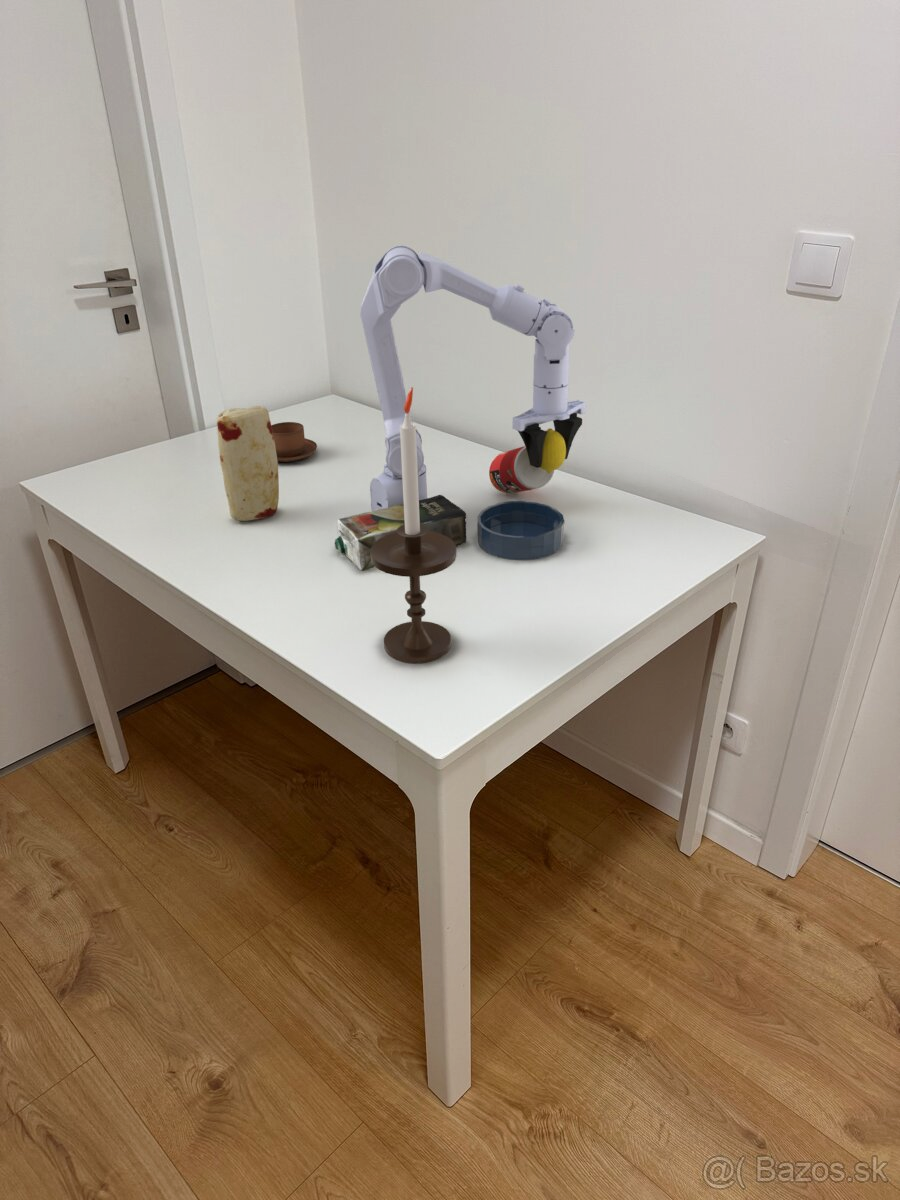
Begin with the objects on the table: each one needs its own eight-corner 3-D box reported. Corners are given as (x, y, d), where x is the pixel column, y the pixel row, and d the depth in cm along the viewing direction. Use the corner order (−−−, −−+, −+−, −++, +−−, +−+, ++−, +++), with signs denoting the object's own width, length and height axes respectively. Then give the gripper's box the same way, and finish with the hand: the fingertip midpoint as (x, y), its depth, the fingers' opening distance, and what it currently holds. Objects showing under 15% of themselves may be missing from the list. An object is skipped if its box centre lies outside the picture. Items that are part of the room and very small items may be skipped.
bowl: (513, 568, 132) (514, 545, 130) (460, 536, 142) (460, 515, 140) (580, 543, 139) (582, 521, 137) (525, 515, 149) (526, 494, 147)
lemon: (566, 466, 148) (567, 423, 144) (564, 479, 144) (565, 434, 139) (534, 466, 149) (534, 423, 145) (532, 479, 145) (532, 434, 140)
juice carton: (355, 574, 131) (352, 538, 128) (332, 549, 139) (329, 515, 136) (468, 545, 139) (468, 511, 136) (440, 524, 147) (439, 491, 144)
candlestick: (451, 619, 119) (446, 371, 101) (464, 662, 110) (460, 398, 92) (374, 627, 118) (355, 377, 100) (380, 671, 108) (361, 404, 91)
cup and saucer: (253, 451, 179) (249, 423, 176) (308, 442, 183) (305, 415, 180) (268, 470, 170) (263, 441, 166) (325, 460, 174) (322, 431, 171)
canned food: (480, 478, 155) (508, 472, 145) (501, 443, 156) (530, 434, 146) (511, 502, 158) (540, 497, 147) (531, 467, 159) (562, 460, 149)
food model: (236, 529, 146) (218, 417, 136) (224, 516, 151) (205, 406, 141) (289, 516, 150) (275, 406, 140) (275, 503, 155) (261, 396, 145)
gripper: (532, 397, 132) (531, 478, 139) (600, 380, 139) (595, 458, 146) (504, 388, 137) (504, 466, 144) (571, 371, 144) (568, 447, 151)
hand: (548, 461), depth 145 cm, fingers closed on lemon, 5 cm apart
